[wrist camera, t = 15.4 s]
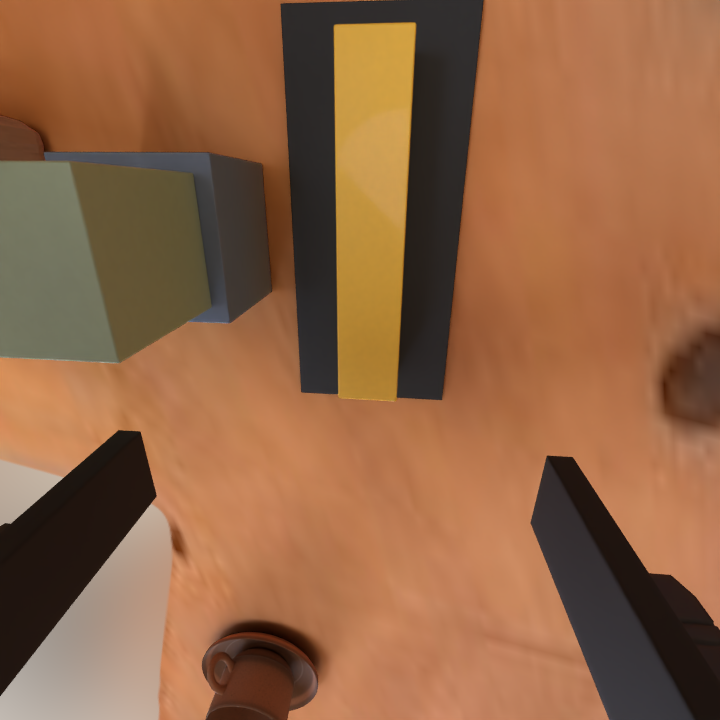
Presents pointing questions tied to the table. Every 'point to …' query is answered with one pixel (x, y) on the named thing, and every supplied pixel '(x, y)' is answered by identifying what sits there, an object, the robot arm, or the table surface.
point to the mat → (425, 179)
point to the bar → (371, 200)
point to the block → (19, 141)
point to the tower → (126, 250)
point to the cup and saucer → (257, 677)
